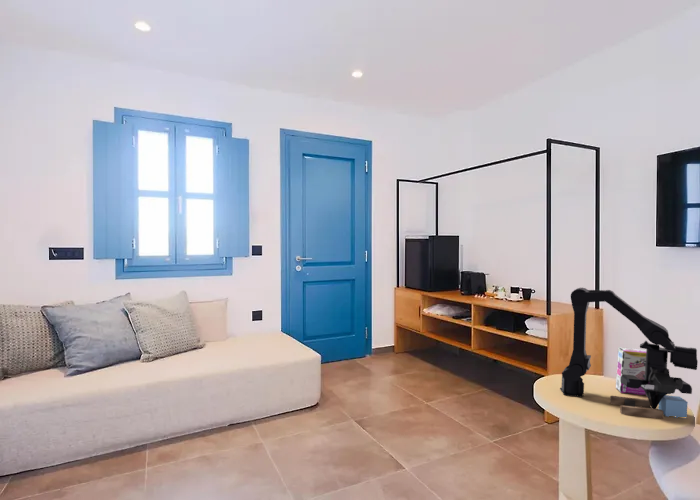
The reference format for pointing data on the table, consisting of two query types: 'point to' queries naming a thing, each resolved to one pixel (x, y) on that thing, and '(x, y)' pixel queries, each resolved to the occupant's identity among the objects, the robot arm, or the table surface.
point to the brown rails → (636, 407)
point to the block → (673, 406)
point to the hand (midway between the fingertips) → (653, 408)
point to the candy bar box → (630, 368)
